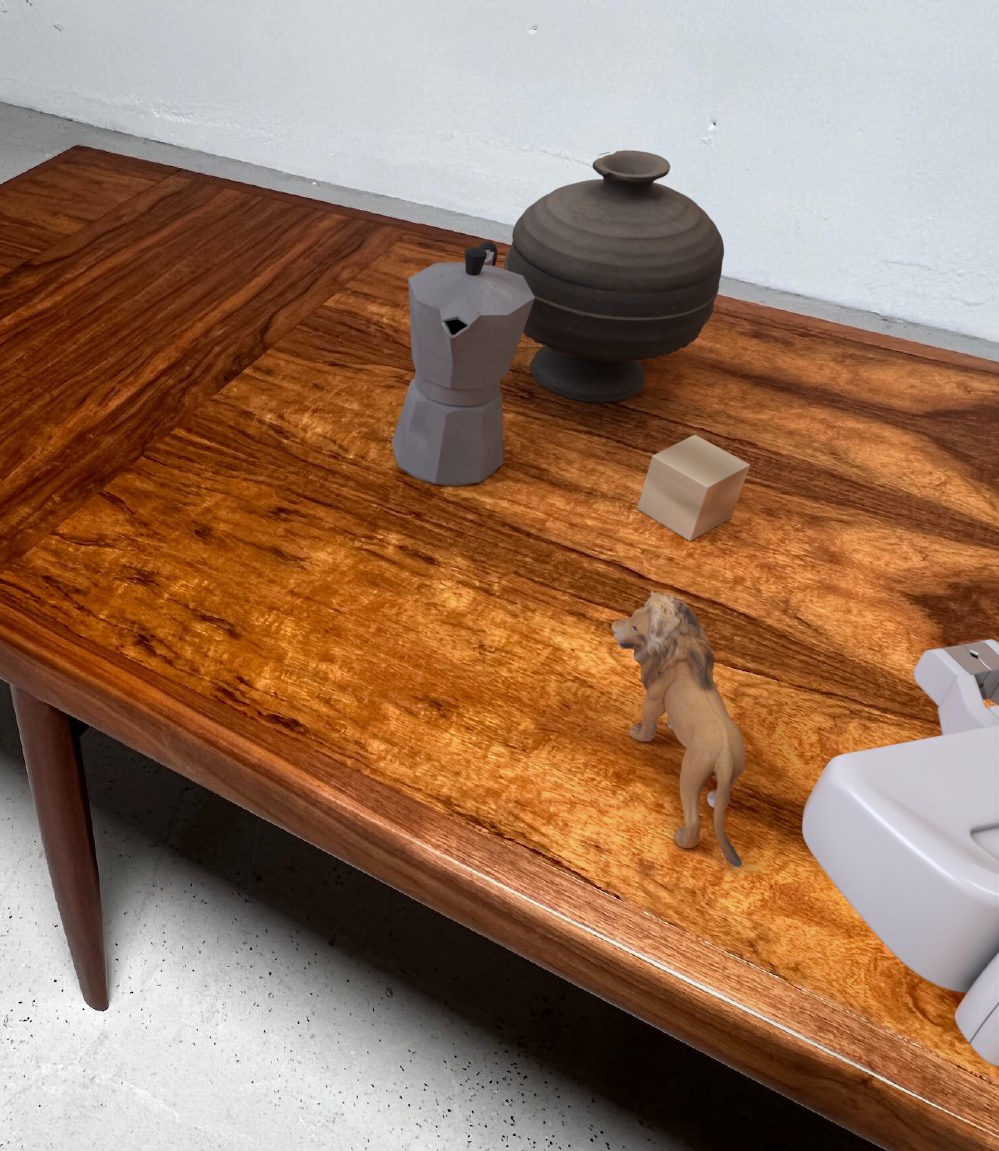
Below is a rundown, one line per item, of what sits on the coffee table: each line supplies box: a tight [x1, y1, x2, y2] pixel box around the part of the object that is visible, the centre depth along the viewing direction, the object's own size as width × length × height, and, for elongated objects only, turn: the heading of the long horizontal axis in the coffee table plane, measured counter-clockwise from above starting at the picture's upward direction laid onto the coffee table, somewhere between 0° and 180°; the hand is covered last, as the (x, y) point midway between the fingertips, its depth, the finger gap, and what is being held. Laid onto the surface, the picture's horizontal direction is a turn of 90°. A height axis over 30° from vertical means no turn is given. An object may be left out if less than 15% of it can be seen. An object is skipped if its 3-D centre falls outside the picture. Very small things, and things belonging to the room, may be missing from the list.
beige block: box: [636, 434, 751, 542], centre depth 86 cm, size 5×5×5 cm
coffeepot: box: [391, 241, 535, 487], centre depth 88 cm, size 15×9×18 cm, turn 160°
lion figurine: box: [611, 590, 746, 868], centre depth 65 cm, size 15×5×9 cm, turn 11°
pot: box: [503, 149, 725, 404], centre depth 97 cm, size 18×18×20 cm
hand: (949, 655), depth 46 cm, fingers closed
